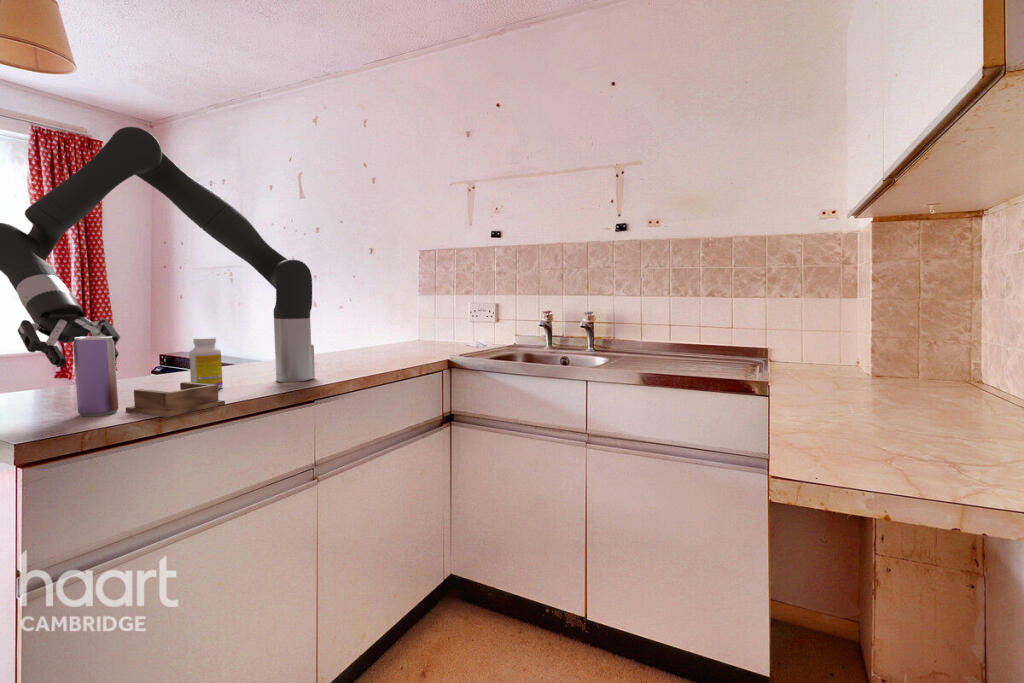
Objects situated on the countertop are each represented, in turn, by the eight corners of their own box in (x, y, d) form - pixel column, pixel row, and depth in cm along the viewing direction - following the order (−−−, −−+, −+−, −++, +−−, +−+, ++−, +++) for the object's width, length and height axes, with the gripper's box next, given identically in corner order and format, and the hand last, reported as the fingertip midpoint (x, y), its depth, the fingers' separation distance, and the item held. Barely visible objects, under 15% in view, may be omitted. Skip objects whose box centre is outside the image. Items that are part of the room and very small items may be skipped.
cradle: (185, 400, 106) (184, 380, 105) (224, 404, 102) (223, 384, 101) (125, 411, 95) (124, 390, 94) (167, 416, 90) (165, 394, 90)
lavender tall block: (95, 418, 89) (89, 338, 88) (69, 416, 91) (63, 337, 89) (126, 411, 95) (121, 336, 94) (102, 409, 96) (97, 335, 95)
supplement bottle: (228, 388, 120) (226, 337, 119) (202, 392, 114) (199, 339, 113) (211, 386, 123) (209, 336, 122) (185, 390, 117) (182, 338, 116)
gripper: (8, 288, 88) (50, 352, 85) (98, 290, 101) (137, 345, 98) (-5, 316, 90) (35, 379, 87) (85, 314, 104) (122, 369, 101)
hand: (89, 361), depth 93 cm, fingers open, 8 cm apart
